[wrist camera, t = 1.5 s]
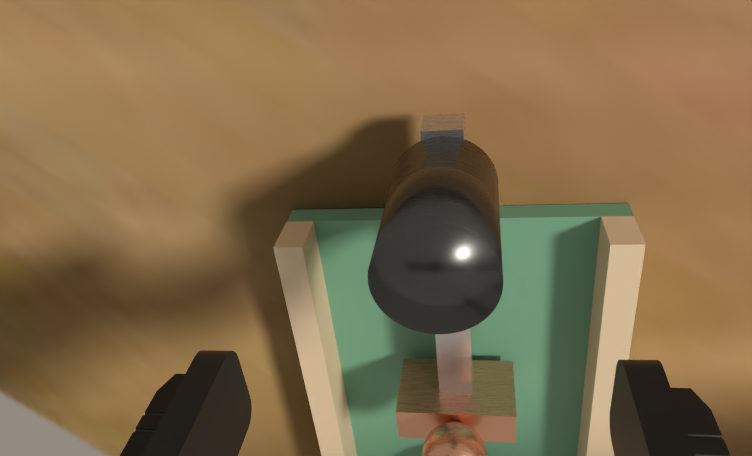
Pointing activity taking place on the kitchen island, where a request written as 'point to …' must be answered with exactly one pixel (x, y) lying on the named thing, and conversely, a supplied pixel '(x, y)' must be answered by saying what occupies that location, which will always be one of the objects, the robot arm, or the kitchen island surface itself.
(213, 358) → the robot arm
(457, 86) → the kitchen island surface
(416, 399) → the striker
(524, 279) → the pitch
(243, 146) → the kitchen island surface
